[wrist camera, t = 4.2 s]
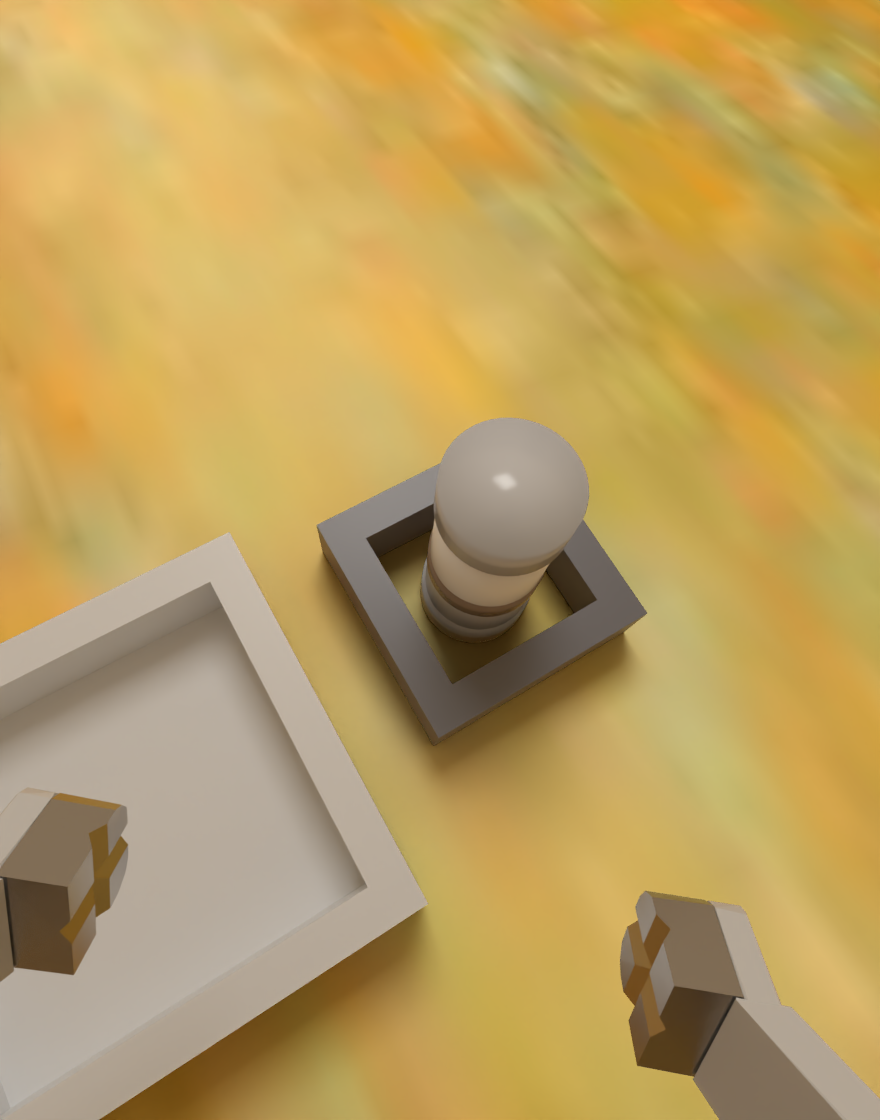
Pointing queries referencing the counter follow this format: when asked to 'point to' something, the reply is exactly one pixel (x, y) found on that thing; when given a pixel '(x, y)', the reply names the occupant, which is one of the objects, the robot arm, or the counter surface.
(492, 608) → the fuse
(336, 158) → the counter surface
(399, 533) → the gray square frame
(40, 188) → the counter surface
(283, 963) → the parts tray
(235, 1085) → the counter surface
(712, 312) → the counter surface
